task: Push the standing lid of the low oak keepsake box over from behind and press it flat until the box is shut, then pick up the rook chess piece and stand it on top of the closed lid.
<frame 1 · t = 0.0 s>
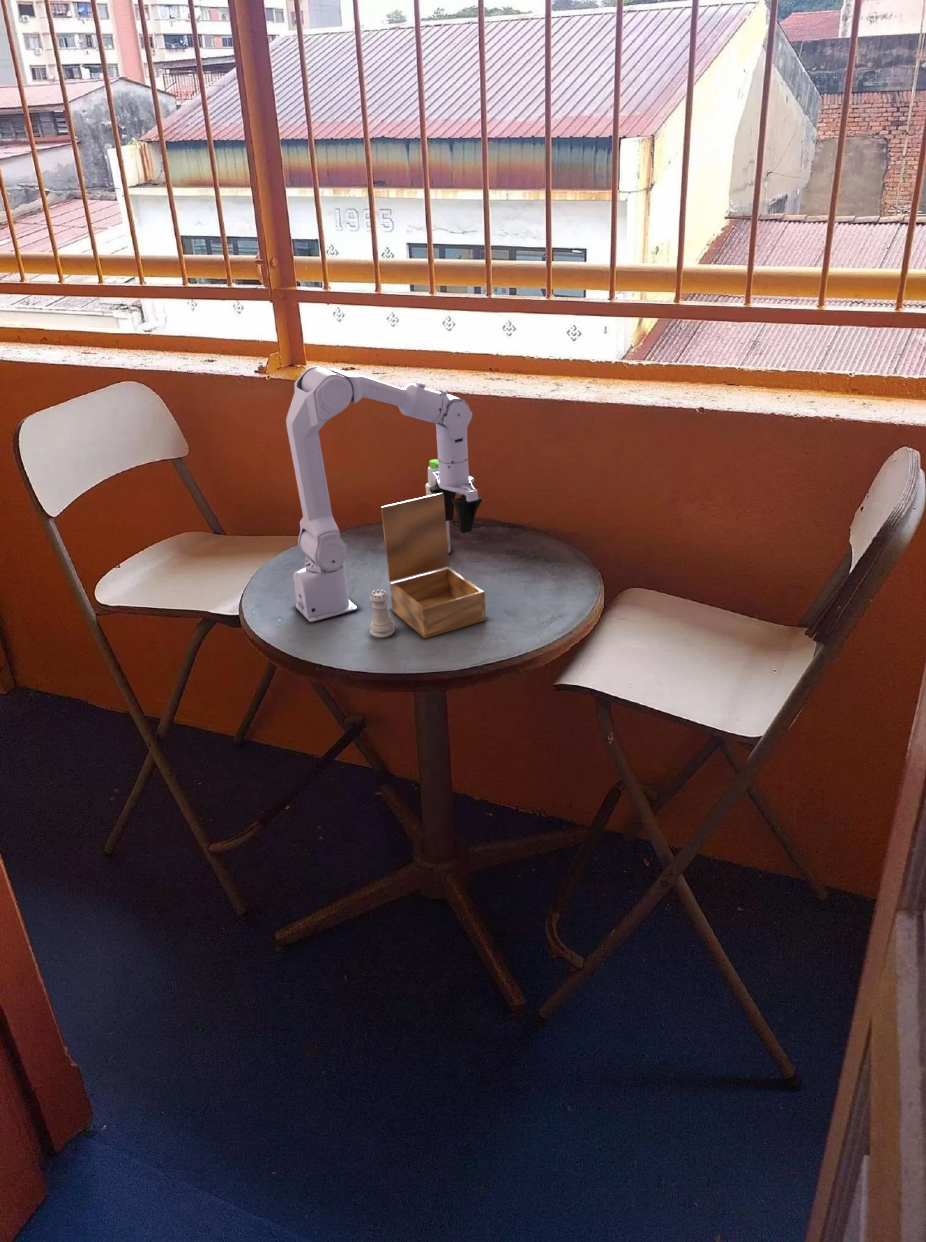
hand: (456, 525, 181), 10 cm above the table, tool pointing down, fingers open, 7 cm apart
keepsake box: (438, 615, 169), on the table
bottle: (440, 552, 196), on the table
lid: (416, 537, 169), point 13 cm above the table, hinge at 92.0°
rook chess piece: (382, 634, 164), on the table
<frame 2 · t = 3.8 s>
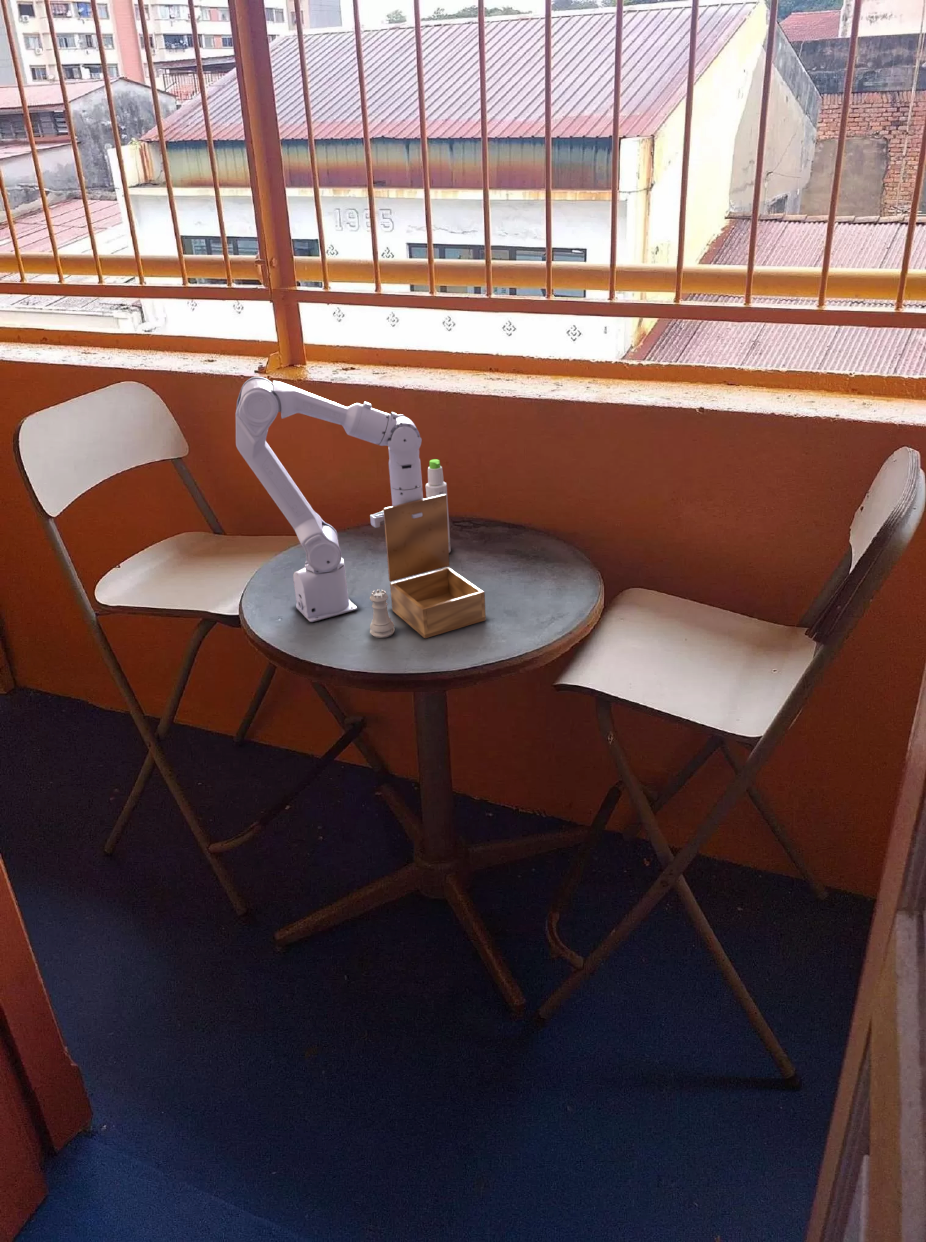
hand: (412, 554, 173), 9 cm above the table, tool pointing down, fingers closed, pressing on lid
lid: (417, 538, 168), point 13 cm above the table, hinge at 87.9°, touching gripper
everything else where it was.
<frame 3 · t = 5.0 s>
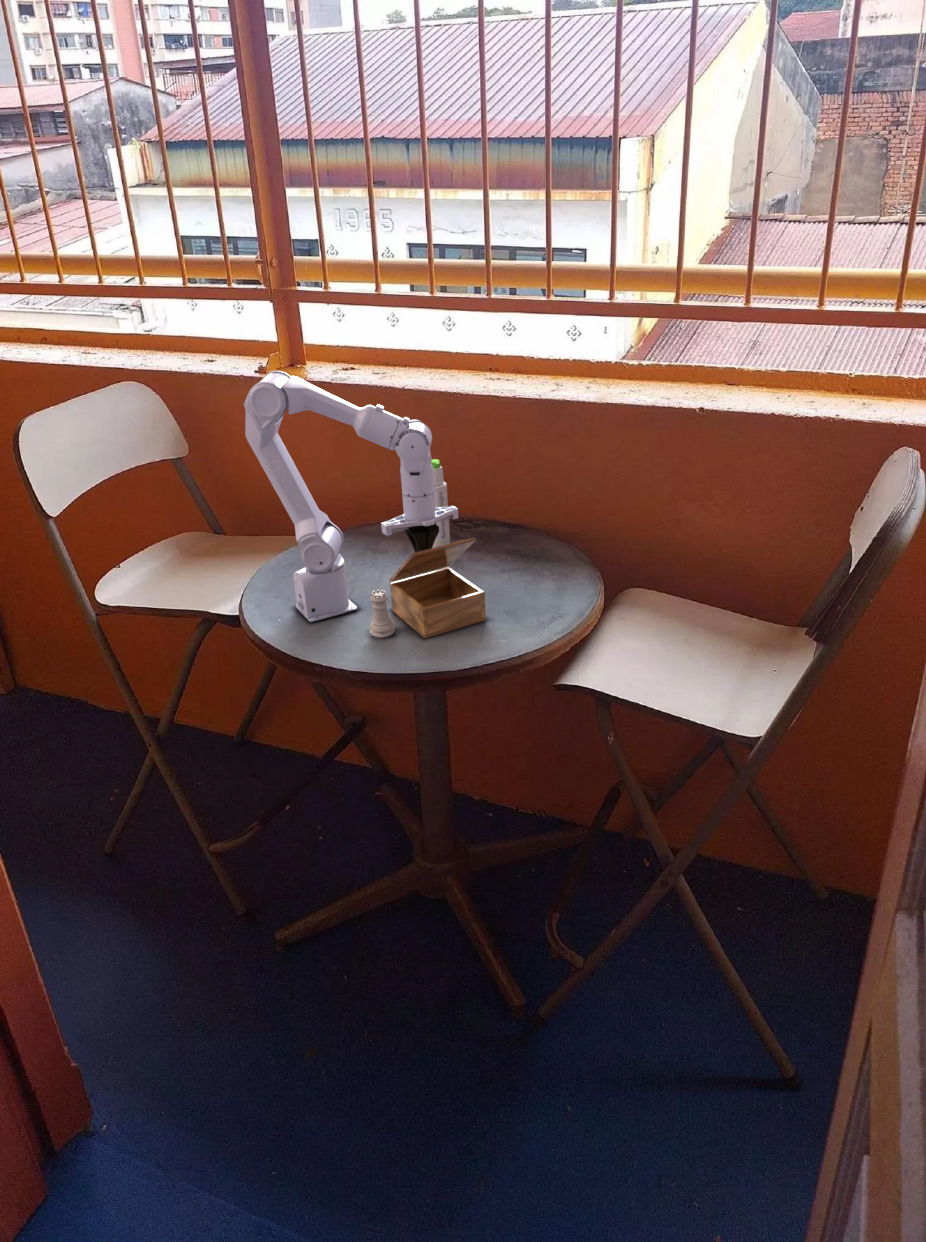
hand: (423, 562, 169), 9 cm above the table, tool pointing down, fingers closed
lid: (431, 560, 165), point 11 cm above the table, hinge at 39.3°, touching gripper
everything else where it was.
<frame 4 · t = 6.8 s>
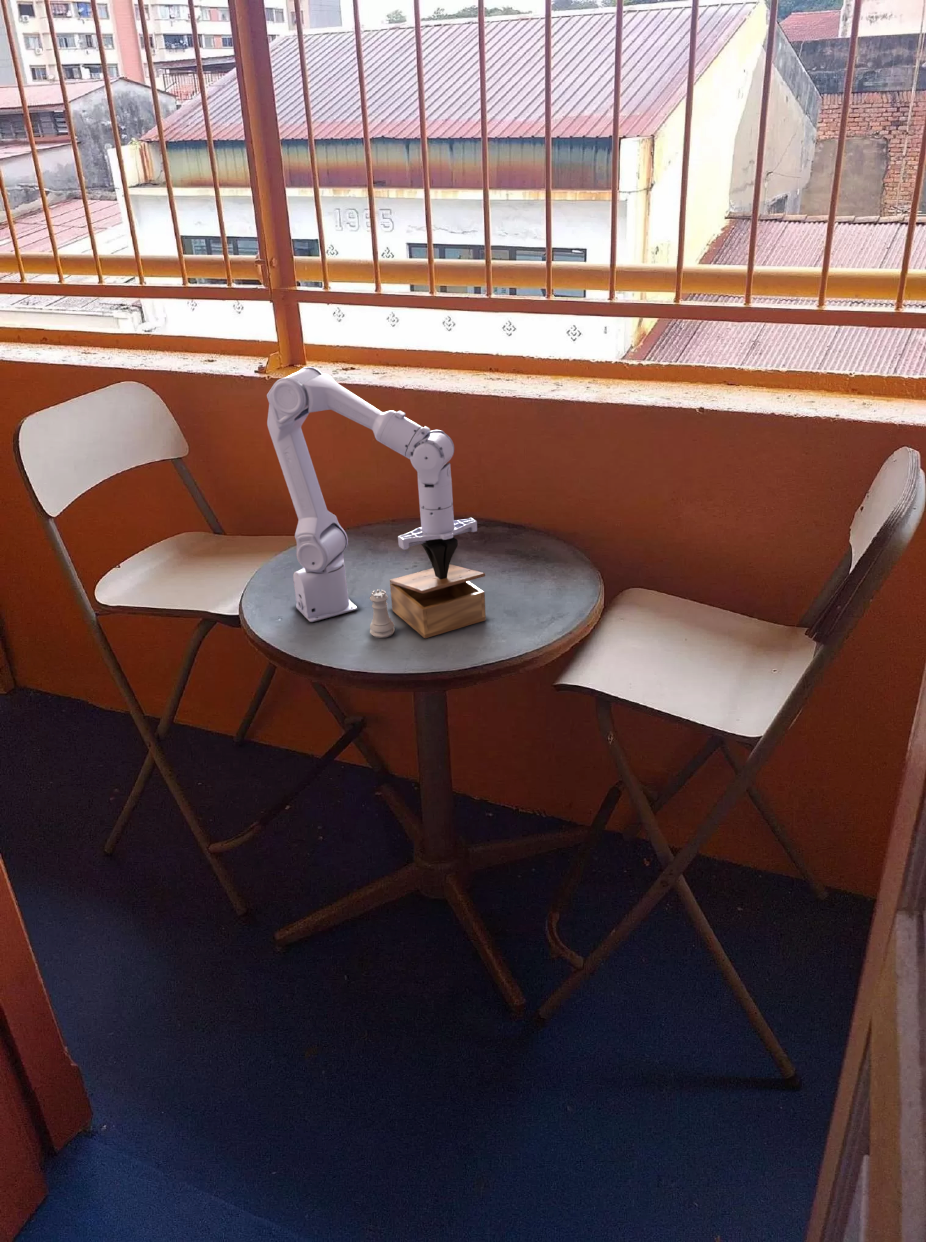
hand: (441, 576, 164), 9 cm above the table, tool pointing down, fingers closed, pressing on lid
lid: (436, 578, 166), point 8 cm above the table, hinge at 13.0°, touching gripper
everything else where it was.
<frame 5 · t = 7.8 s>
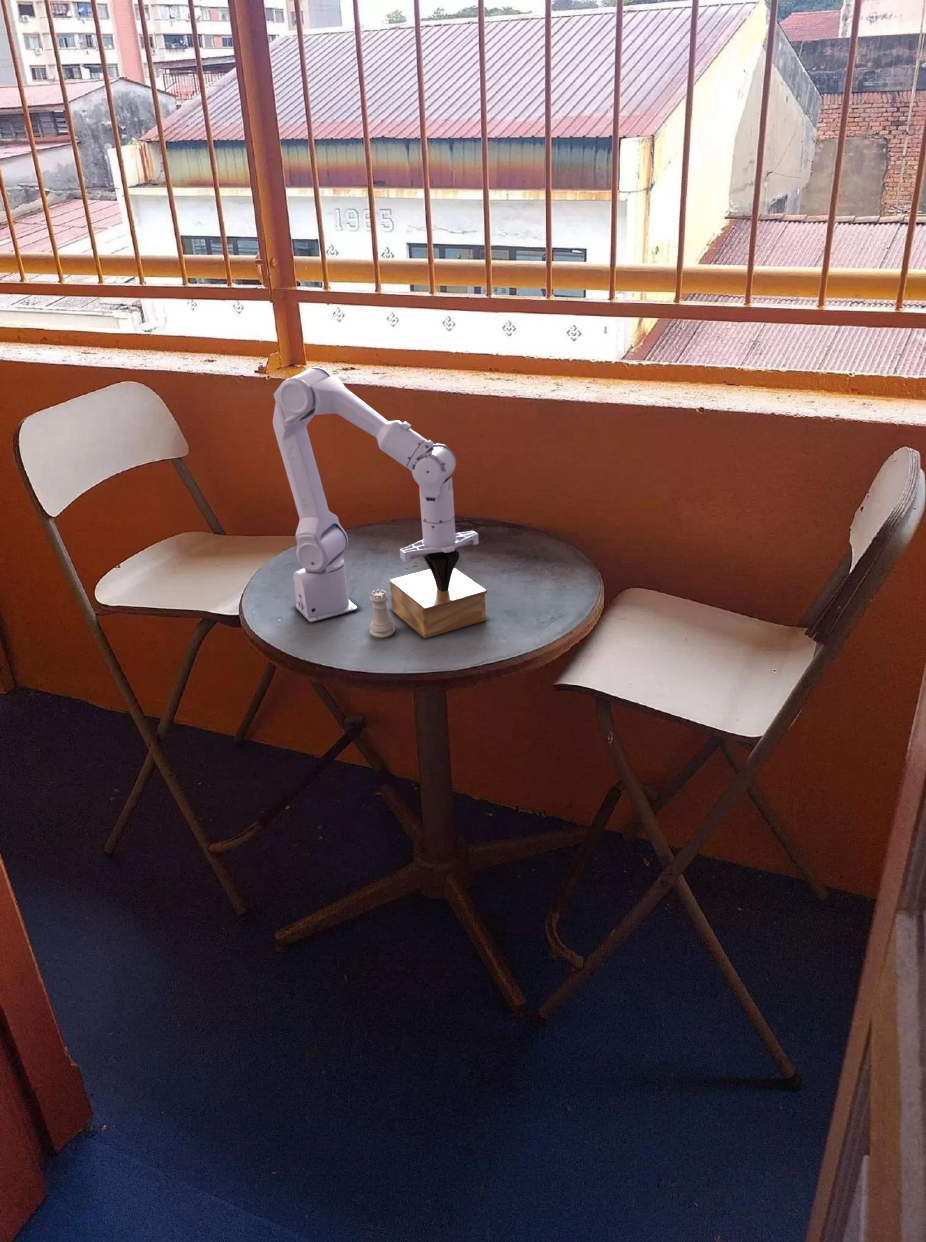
hand: (442, 589, 165), 6 cm above the table, tool pointing down, fingers closed, pressing on lid
lid: (437, 586, 166), point 6 cm above the table, hinge at 0.0°, touching gripper
everything else where it was.
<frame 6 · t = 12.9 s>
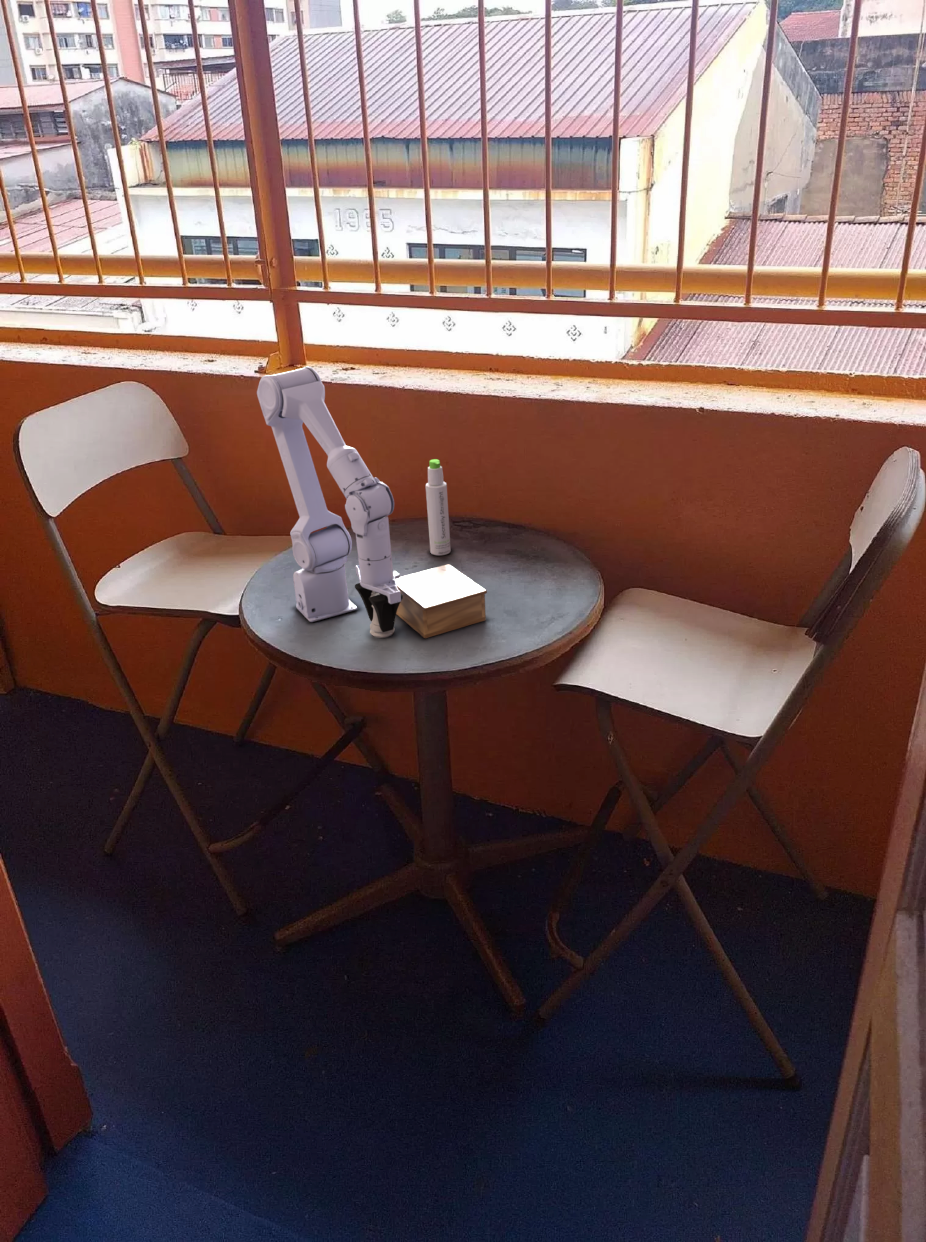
hand: (381, 625, 163), 2 cm above the table, tool pointing down, fingers closed on rook chess piece, 4 cm apart
lid: (437, 586, 166), point 6 cm above the table, hinge at 0.0°
rook chess piece: (382, 633, 164), on the table, touching gripper
everything else where it was.
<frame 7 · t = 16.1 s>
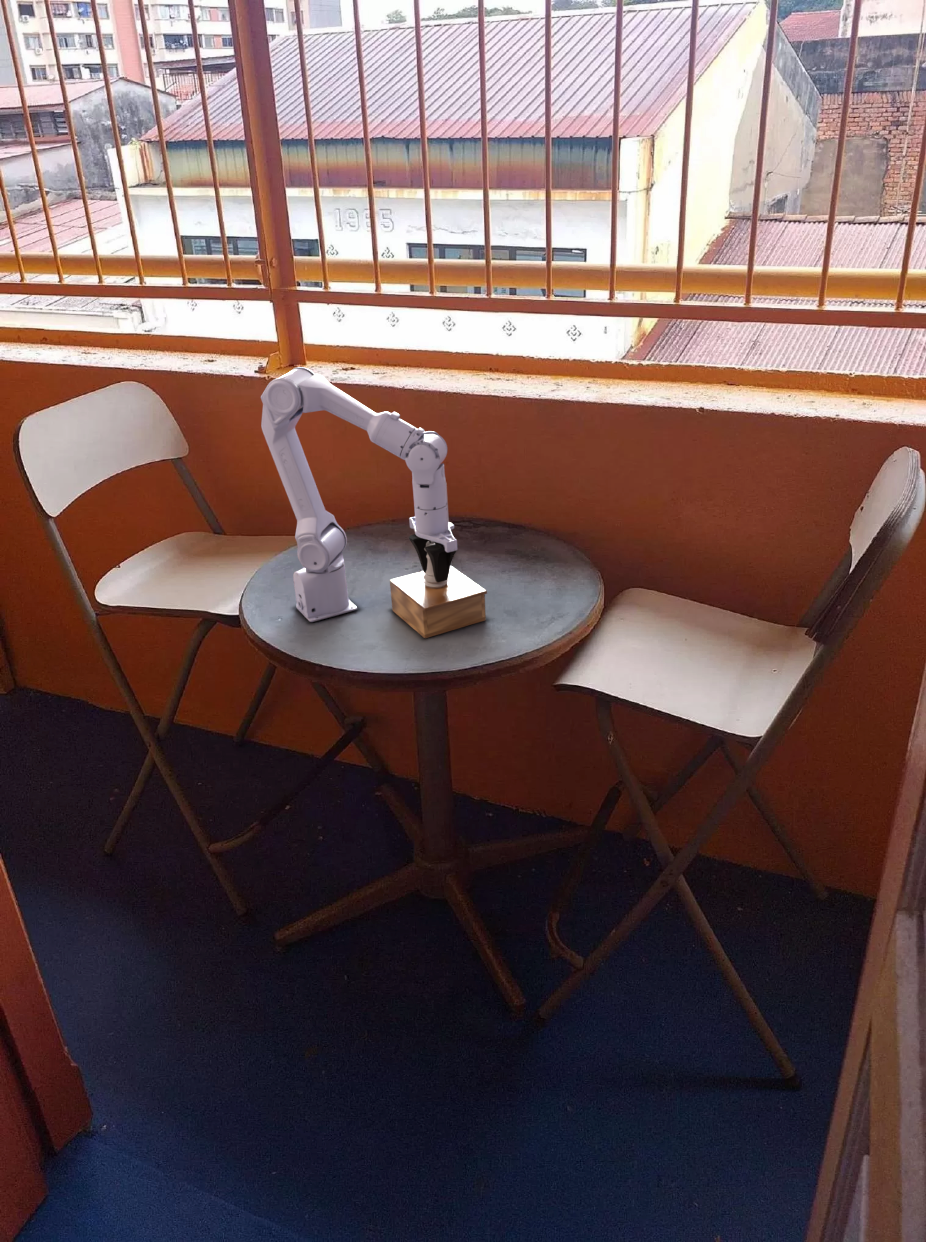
hand: (435, 576, 166), 8 cm above the table, tool pointing down, fingers closed on rook chess piece, 4 cm apart
lid: (437, 586, 166), point 6 cm above the table, hinge at -0.2°, touching keepsake box, rook chess piece
rook chess piece: (436, 585, 167), point 6 cm above the table, touching gripper, lid
everything else where it was.
when the fingers open (8 cm above the table, at t = 16.4 s): rook chess piece stays where it is, resting on lid.
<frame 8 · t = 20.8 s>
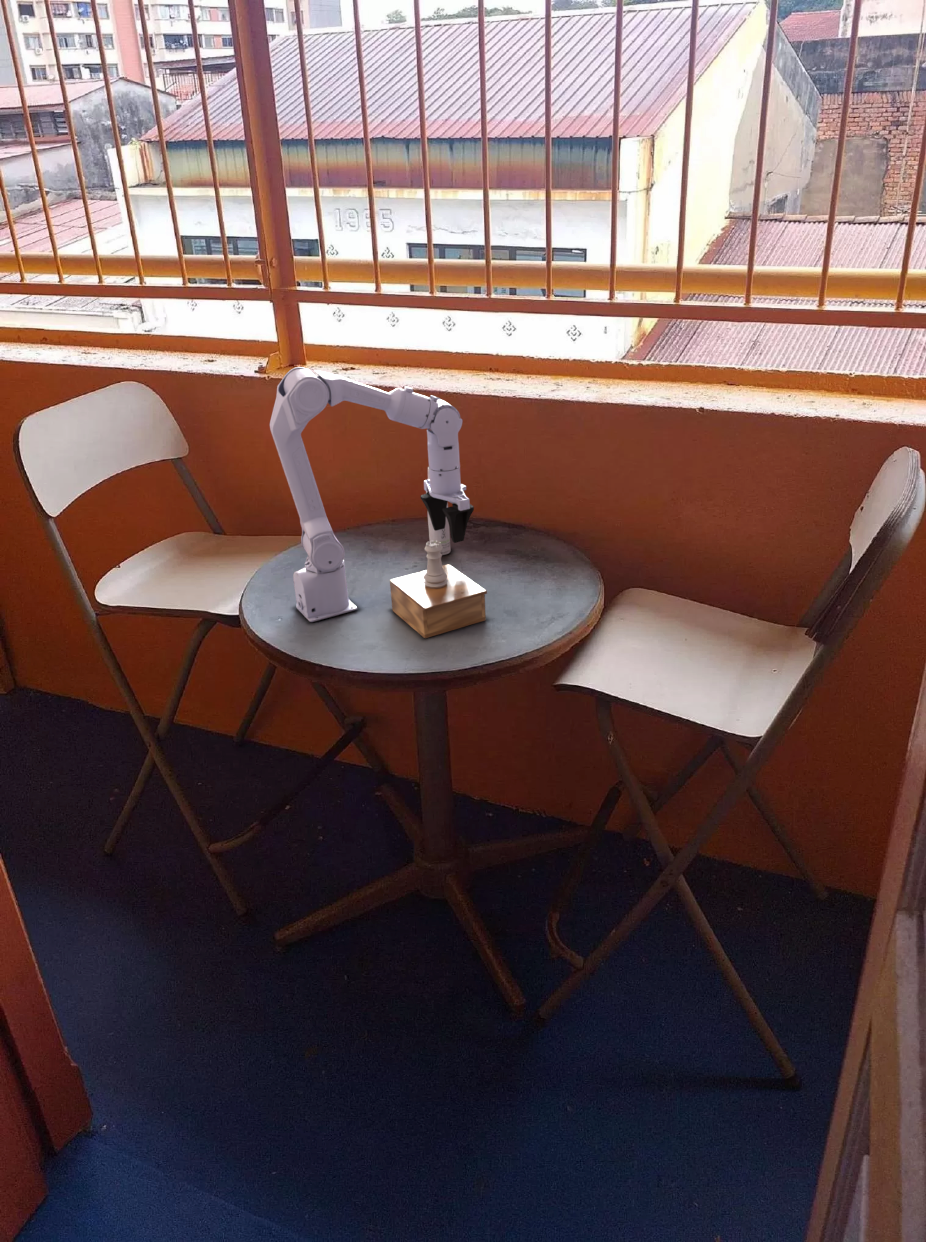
hand: (448, 535, 176), 10 cm above the table, tool pointing down, fingers open, 7 cm apart
rook chess piece: (436, 585, 167), point 6 cm above the table, touching lid
everything else where it was.
at the end: lid at +0° (first picture: +92°); rook chess piece inside the target area on the keepsake box (0.0 cm from its centre), point 6.1 cm above the keepsake box's base; rook chess piece tilted 0° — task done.
